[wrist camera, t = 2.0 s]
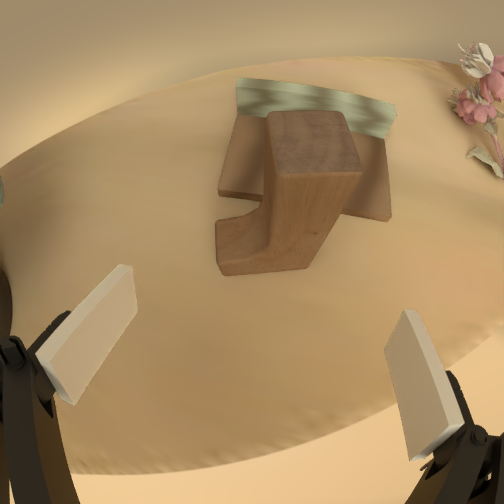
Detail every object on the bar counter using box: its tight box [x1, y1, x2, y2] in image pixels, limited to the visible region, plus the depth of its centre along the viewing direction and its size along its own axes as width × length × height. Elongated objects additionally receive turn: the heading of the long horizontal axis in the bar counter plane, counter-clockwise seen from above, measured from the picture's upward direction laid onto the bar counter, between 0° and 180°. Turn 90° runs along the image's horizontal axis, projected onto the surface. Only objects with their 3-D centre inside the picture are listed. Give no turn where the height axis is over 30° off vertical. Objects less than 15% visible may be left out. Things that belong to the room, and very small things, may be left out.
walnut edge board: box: [218, 78, 397, 222], centre depth 31 cm, size 20×14×6 cm
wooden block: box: [215, 110, 363, 276], centre depth 22 cm, size 9×4×18 cm, turn 95°
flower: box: [448, 42, 504, 178], centre depth 27 cm, size 20×22×25 cm
